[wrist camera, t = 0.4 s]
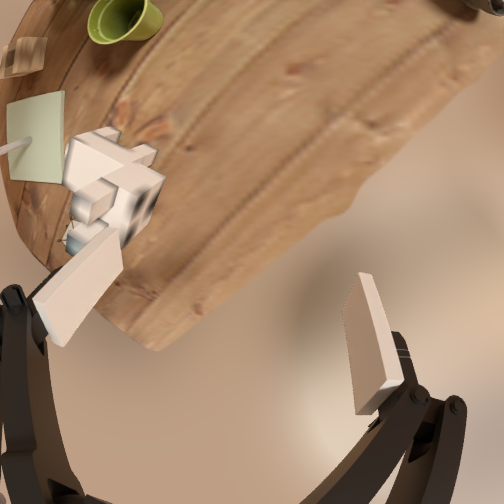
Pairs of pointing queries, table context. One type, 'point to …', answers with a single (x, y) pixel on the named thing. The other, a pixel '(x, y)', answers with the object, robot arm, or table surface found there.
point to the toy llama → (109, 186)
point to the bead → (23, 57)
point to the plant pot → (123, 20)
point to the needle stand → (36, 138)
